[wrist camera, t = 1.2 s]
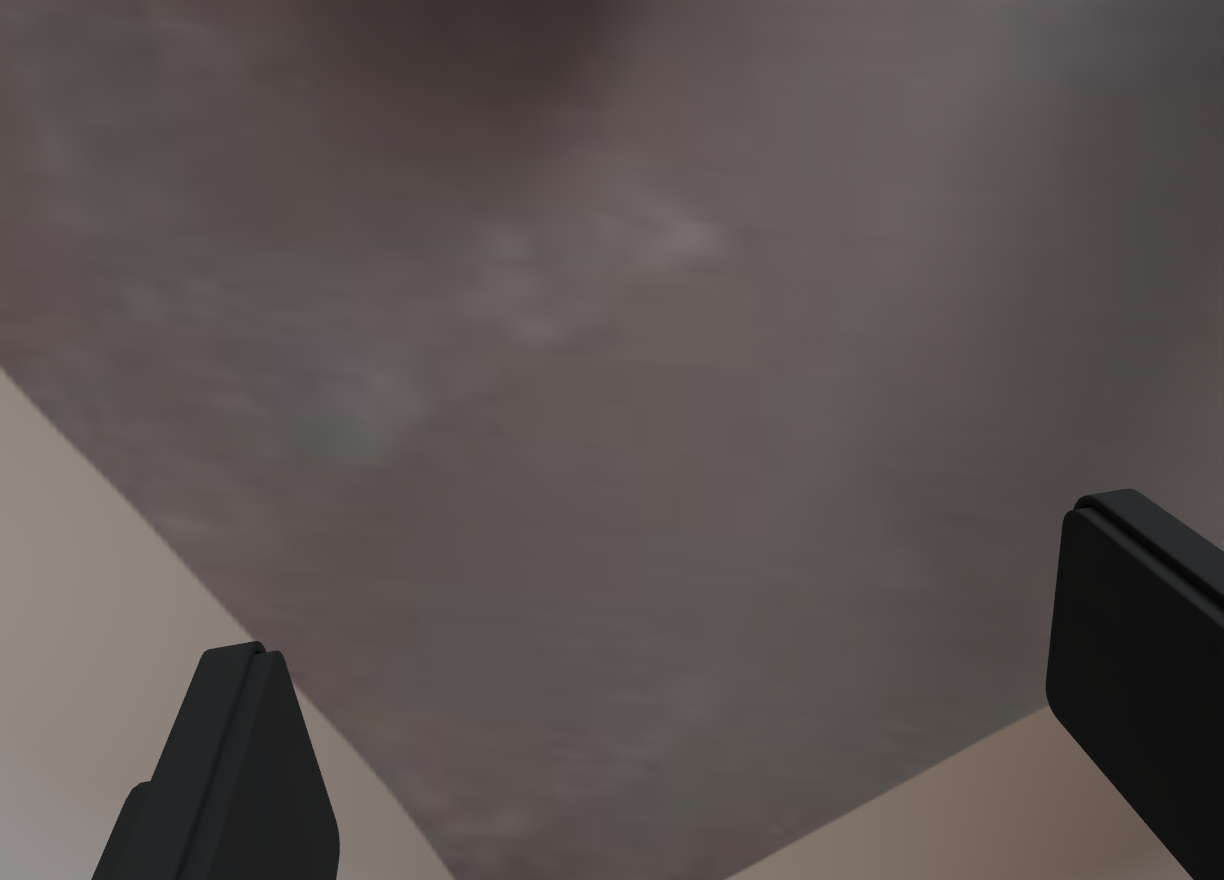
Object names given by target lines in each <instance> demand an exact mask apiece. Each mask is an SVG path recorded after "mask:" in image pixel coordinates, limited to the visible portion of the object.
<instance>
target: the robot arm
mask: <svg viewBox="0 0 1224 880" xmlns="http://www.w3.org/2000/svg"><path fill="white" fill-rule="evenodd" d="M1046 695H1047V699H1048V702H1049V705H1050V708H1051V709H1052V712H1053V713H1054V715H1055V716H1056V718H1057V719H1058V720H1059V721H1060V723H1061V724H1062V725H1063V726H1064V727H1065V728H1066V730H1067V731H1068V732H1069V733H1070V734H1071V736H1072V737H1073V738H1074V739H1075V740H1076V741H1077V742H1078V744H1079V745H1080V746H1081V747H1082V749H1083V750H1084V751H1085V752H1086V753H1087V754H1088V755H1089V757H1090V758H1091V759H1092V760H1093V761H1094V763H1095V764H1096V765H1097V766H1098V767H1099V769H1100V770H1101V771H1102V772H1103V773H1104V774H1105V776H1106V777H1107V778H1108V779H1109V780H1110V782H1111V783H1112V784H1113V785H1114V786H1115V787H1116V789H1117V790H1118V791H1119V792H1120V793H1121V795H1122V796H1123V797H1124V798H1125V799H1126V801H1127V802H1128V803H1129V804H1130V805H1131V806H1132V808H1133V809H1134V810H1135V811H1136V812H1137V814H1139V816H1140V817H1141V818H1142V819H1143V820H1144V822H1145V823H1146V824H1147V825H1148V827H1149V828H1150V829H1151V830H1152V831H1153V832H1154V833H1155V835H1156V836H1157V837H1158V838H1159V839H1160V841H1161V842H1162V843H1163V844H1164V845H1165V847H1166V848H1167V849H1168V850H1169V851H1170V852H1171V854H1172V855H1173V856H1174V857H1175V858H1176V859H1177V861H1178V862H1179V863H1180V864H1181V865H1182V867H1183V868H1184V869H1185V870H1186V871H1187V873H1188V874H1189V875H1190V876H1191V877H1192V878H1193V880H1224V552H1223V551H1222V550H1220V549H1219V548H1217V547H1216V546H1215V545H1213V544H1212V543H1210V542H1209V541H1208V540H1206V539H1205V538H1203V537H1202V536H1200V535H1199V534H1198V533H1196V532H1195V531H1193V530H1192V529H1190V528H1189V527H1188V526H1186V525H1185V524H1183V523H1182V522H1181V521H1179V520H1178V519H1176V518H1175V517H1173V516H1172V515H1171V514H1169V513H1168V512H1166V511H1165V510H1163V509H1162V508H1161V507H1159V506H1158V505H1156V504H1155V503H1153V502H1152V501H1151V500H1149V499H1148V498H1146V497H1145V496H1144V495H1142V494H1141V493H1139V492H1137V491H1135V490H1133V489H1122V490H1116V491H1110V492H1105V493H1099V494H1093V495H1088V496H1083V497H1082V498H1080V499H1078V501H1077V503H1076V504H1075V507H1074V510H1071V511H1069V512H1068V513H1066V515H1065V517H1064V520H1063V525H1062V534H1061V544H1060V553H1059V563H1058V572H1057V582H1056V591H1055V601H1054V610H1053V620H1052V629H1051V639H1050V648H1049V658H1048V667H1047V677H1046ZM339 853H340V842H339V832H338V826H337V823H336V819H335V816H334V813H333V810H332V806H331V803H330V800H329V797H328V794H327V791H326V787H325V784H324V781H323V778H322V775H321V772H320V769H319V766H318V763H317V759H316V756H315V753H314V750H313V747H312V744H311V741H310V738H309V735H308V731H307V728H306V725H305V722H304V719H303V716H302V712H301V709H300V706H299V703H298V700H297V697H296V694H295V691H294V687H293V684H292V681H291V678H290V675H289V672H288V669H287V666H286V662H285V660H284V657H283V655H282V654H281V652H280V651H278V650H277V651H271V652H266V650H265V648H264V646H263V645H262V644H261V643H260V642H258V641H254V642H248V643H243V644H237V645H231V646H225V647H220V648H214V649H209V650H207V651H205V652H204V654H203V655H202V657H201V659H200V661H199V664H198V667H197V669H196V671H195V673H194V676H193V678H192V681H191V683H190V686H189V688H188V691H187V693H186V696H185V698H184V700H183V703H182V705H181V708H180V710H179V713H178V715H177V718H176V720H175V722H174V725H173V727H172V730H171V732H170V735H169V737H168V740H167V742H166V745H165V747H164V749H163V752H162V755H161V757H160V759H159V762H158V764H157V767H156V769H155V772H154V774H153V776H152V779H151V781H148V782H142V783H140V784H138V785H137V786H136V787H134V788H133V789H132V791H131V792H130V794H129V795H128V797H127V799H126V801H125V803H124V805H123V807H122V810H121V812H120V814H119V817H118V819H117V821H116V824H115V826H114V828H113V831H112V833H111V835H110V838H109V840H108V842H107V845H106V847H105V849H104V852H103V854H102V856H101V859H100V861H99V863H98V866H97V868H96V870H95V872H94V875H93V877H92V879H91V880H336V876H337V869H338V862H339Z"/></svg>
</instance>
